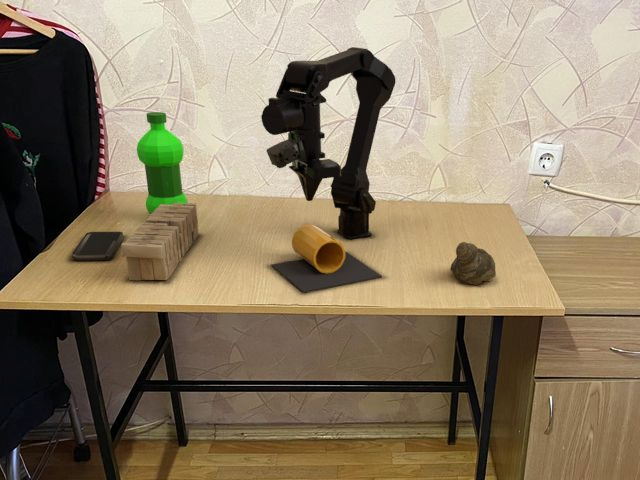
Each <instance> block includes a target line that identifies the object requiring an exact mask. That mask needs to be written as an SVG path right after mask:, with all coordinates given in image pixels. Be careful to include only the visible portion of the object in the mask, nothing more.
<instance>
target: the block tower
mask: <svg viewBox="0 0 640 480" xmlns="http://www.w3.org/2000/svg"><path fill="white" fill-rule="evenodd" d="M197 209H198V208H197V204H196V203H192V202H191V203H190V202H188V203H185V204H184V203H173V204H172V205H165V204H160V205H159V207H158V208H156V209H155V211H154V212H153V213H152V214H150V215H148V217H147V218H146V219H145V221H144V222H142V223H141V224H140V226H139V227H137V228H136V229H135V230H134V232H133V233H132V234H131V235H130V237H128V239H127V240H126V241H125V242H123V241H122V242H121V243H120V246H121V254H122V257H125V258H126V266H127V272H128V279H129V281H142V280H143V281H144V280H146V281H156V280H158V281H167V280H169V279H170V278H171V276H172V274H173V273H174V271H175V269H176V268H177V267H178V265H179V263H181V261H182V258H183V257H184V256H185V255H186V253H187V252H188V250H189V249H190V248H191V246H192V245H193V242H195V241H196V239H197V238H198V237H199V223H198V211H197Z"/></svg>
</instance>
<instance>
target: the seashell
mask: <svg viewBox="0 0 640 480" xmlns="http://www.w3.org/2000/svg"><path fill="white" fill-rule="evenodd" d="M455 255H456V256H455V259H454V260H453V261H452V263H451V265H450V271H451V273H452V274H453V275H454V276H455V277H456V278H457V279H459V280H462V281H463V282H464V283H465V284H470V285H475V286H477V285H480V284H482V283H483V282H486V283H488V282H490V281H491V280H492V279H494V278H495V277H496V275H497V271H496V262H495V260H494V258H493V256H492V255H491V254H489V252H487V251H486V250H485V249H483V248H478V247H477V245H475V244H474V243H471V242H467V241H462V242H460V243H459V244H458V245H457V246H456V248H455Z"/></svg>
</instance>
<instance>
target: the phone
mask: <svg viewBox="0 0 640 480" xmlns="http://www.w3.org/2000/svg"><path fill="white" fill-rule="evenodd" d="M124 239H125V235H124V232H123V231H88V232H86V233H85V234H84V236H83V237H82V239H81V240H80V241H79V242H78V244H77V246H76V247H75V248H74V250H73V251H72V253H71V257H72V260H73V261H81V262H83V261H110V260H112V259H113V258H114V256H115V254H116V252H117V251H118V249H119V247H120V246H121V244H122V243H123V240H124Z"/></svg>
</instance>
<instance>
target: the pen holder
mask: <svg viewBox="0 0 640 480" xmlns="http://www.w3.org/2000/svg"><path fill="white" fill-rule="evenodd" d="M291 246H292V250H293V251H294V252H295V253H296V254H297V255H298V256H299V257H300V258H301V259H304V260H306V261H307V262H308V263H310V264H311V265H312V266H313V267H315V268H316V269H317V270H318V271H320V272H322V273H326V274H328V273H333V272H335V271H336V270H338V269H339V268H340V267H341V266H342V264H343V262H344V260H345V252H346V249H345V247H344V245H343V244H342V243H341V242H340V241H338V240H337V239H335V238H334V237H333V236H331V235H330V234H329V233H327V232H325V230H323V229H322V228H320V227H318V226H316V225H314V224H303V225H302V226H300V227H298V228H297V229H296V230H295V232H294V233H293V235H292V238H291Z"/></svg>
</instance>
